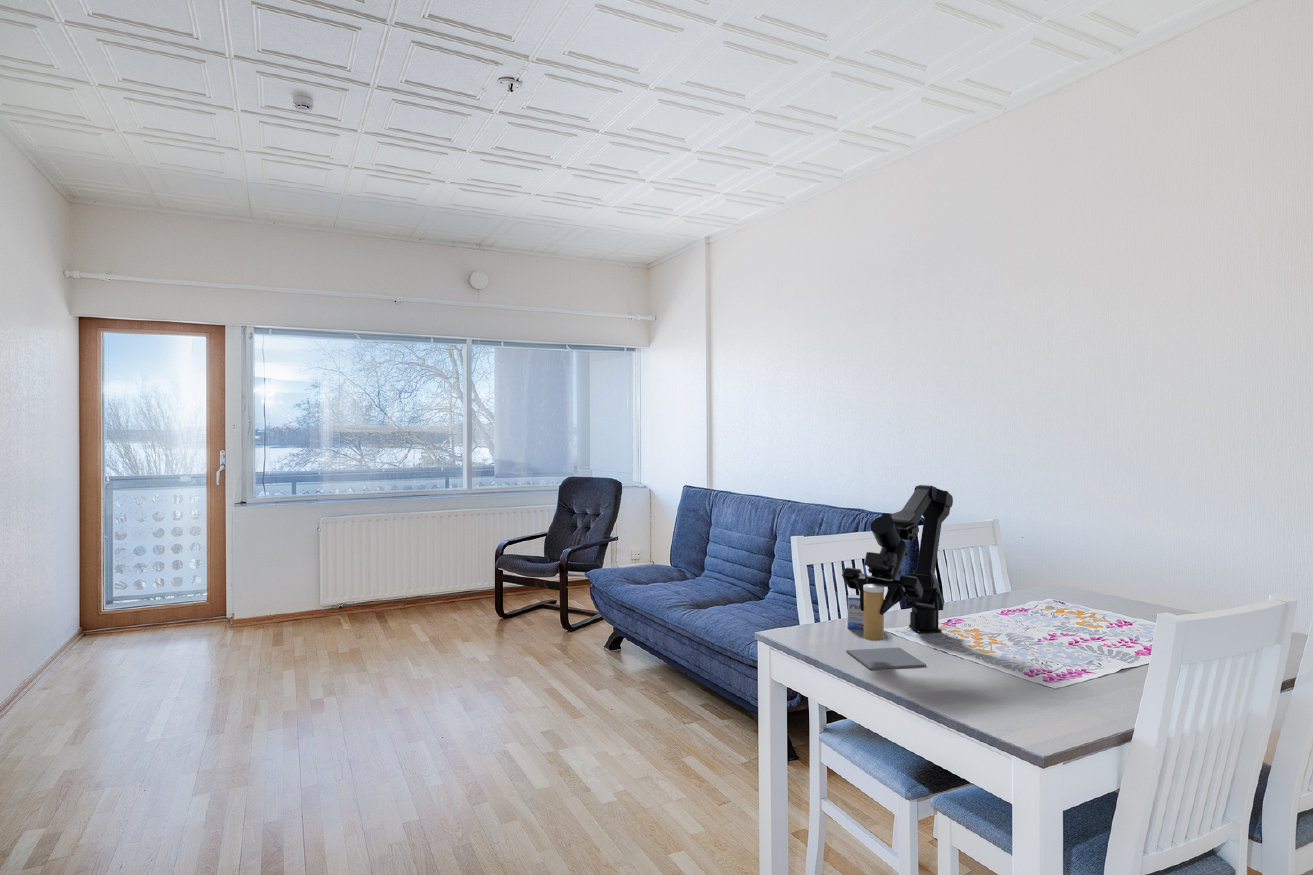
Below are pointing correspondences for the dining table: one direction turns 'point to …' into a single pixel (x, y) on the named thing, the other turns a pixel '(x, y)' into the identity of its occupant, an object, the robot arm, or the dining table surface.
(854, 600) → the medicine box
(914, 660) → the rubber mat
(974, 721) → the dining table surface
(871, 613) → the pill bottle
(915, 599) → the robot arm
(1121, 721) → the dining table surface
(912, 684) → the dining table surface
